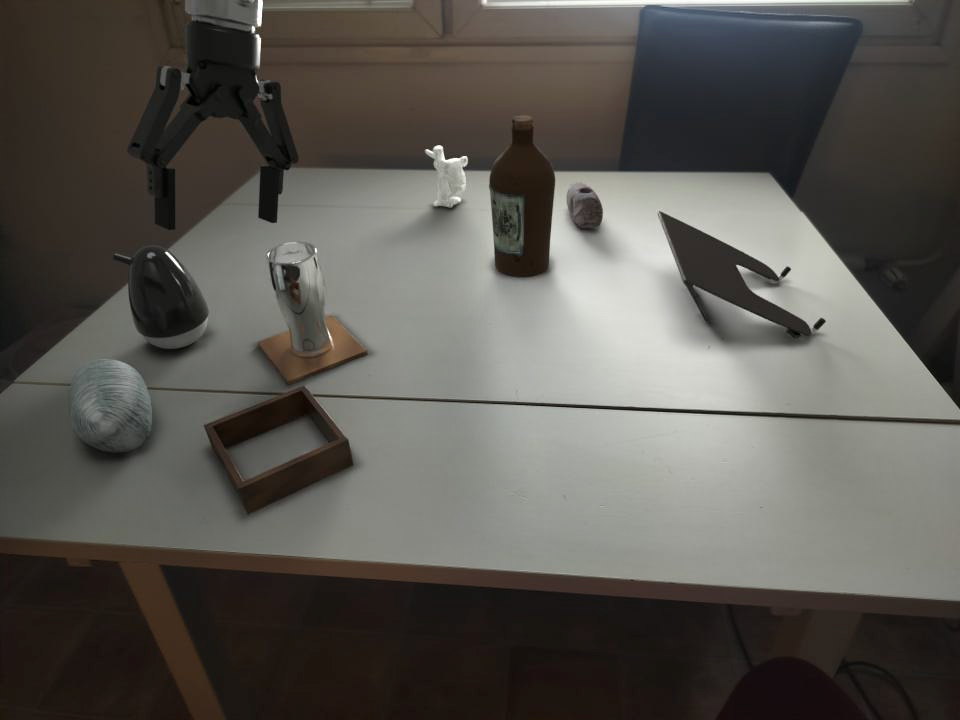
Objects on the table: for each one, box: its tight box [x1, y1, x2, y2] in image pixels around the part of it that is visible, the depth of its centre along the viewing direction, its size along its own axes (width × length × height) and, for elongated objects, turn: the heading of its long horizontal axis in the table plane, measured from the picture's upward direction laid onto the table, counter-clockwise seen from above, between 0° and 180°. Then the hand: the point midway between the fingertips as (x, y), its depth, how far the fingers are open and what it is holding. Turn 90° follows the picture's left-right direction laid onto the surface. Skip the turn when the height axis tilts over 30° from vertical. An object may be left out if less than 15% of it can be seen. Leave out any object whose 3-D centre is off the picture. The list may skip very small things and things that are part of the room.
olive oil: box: [488, 114, 556, 278], centre depth 109 cm, size 11×11×25 cm
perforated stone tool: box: [565, 181, 604, 230], centre depth 129 cm, size 15×5×7 cm, turn 6°
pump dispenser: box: [112, 244, 210, 350], centre depth 96 cm, size 10×10×15 cm
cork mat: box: [256, 315, 368, 385], centre depth 97 cm, size 12×12×1 cm
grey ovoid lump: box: [68, 358, 153, 453], centre depth 82 cm, size 14×10×10 cm
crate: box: [203, 384, 354, 515], centre depth 77 cm, size 13×13×4 cm
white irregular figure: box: [424, 144, 469, 209], centre depth 136 cm, size 8×7×12 cm
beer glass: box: [265, 241, 333, 358], centre depth 92 cm, size 7×7×15 cm
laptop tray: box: [657, 210, 827, 340], centre depth 101 cm, size 23×23×9 cm
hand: (219, 223), depth 78 cm, fingers open, 13 cm apart
